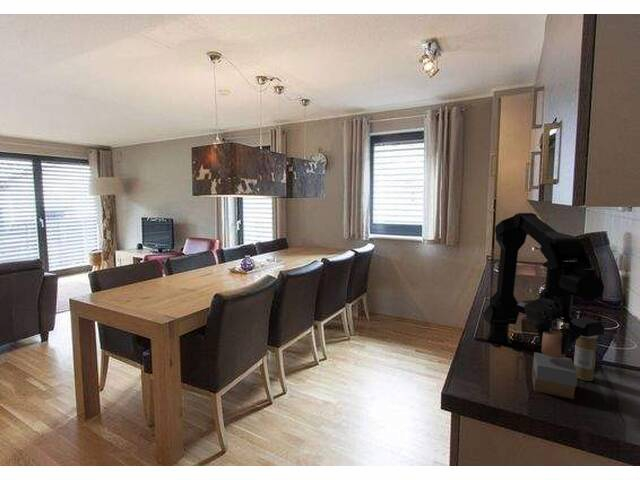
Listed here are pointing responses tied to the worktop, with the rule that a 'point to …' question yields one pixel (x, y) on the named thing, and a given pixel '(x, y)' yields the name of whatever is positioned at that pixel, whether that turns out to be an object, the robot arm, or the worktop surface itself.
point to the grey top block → (555, 369)
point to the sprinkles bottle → (585, 357)
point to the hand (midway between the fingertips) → (553, 349)
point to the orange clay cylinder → (552, 344)
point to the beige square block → (552, 387)
